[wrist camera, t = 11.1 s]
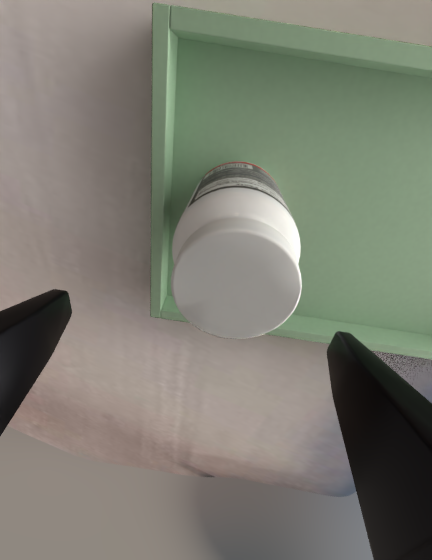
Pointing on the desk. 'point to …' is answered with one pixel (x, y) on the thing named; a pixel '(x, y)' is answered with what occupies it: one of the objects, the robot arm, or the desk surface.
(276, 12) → the desk surface
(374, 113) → the tray
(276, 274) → the pill bottle
